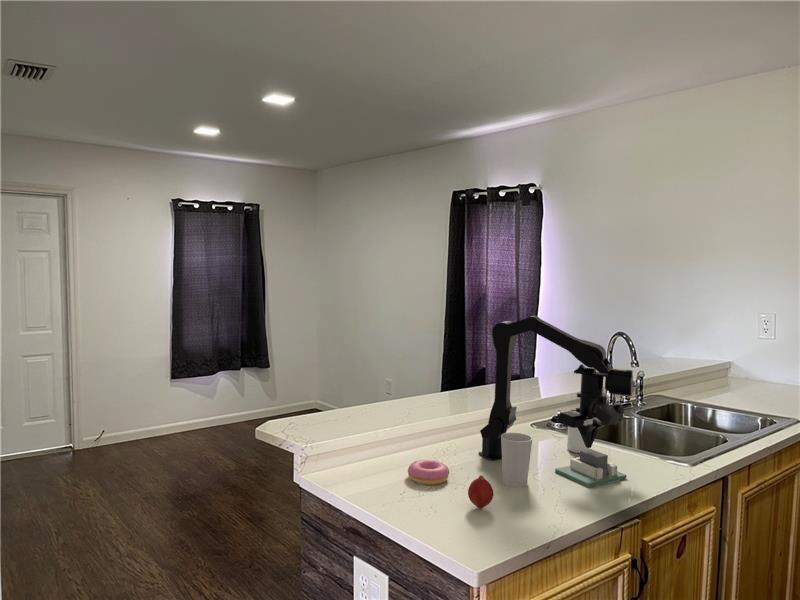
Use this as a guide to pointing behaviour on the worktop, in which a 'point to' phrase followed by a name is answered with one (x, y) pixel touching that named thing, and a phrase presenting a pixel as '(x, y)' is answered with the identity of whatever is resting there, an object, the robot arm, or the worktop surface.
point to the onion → (480, 492)
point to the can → (575, 439)
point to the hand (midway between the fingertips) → (588, 447)
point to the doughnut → (428, 472)
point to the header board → (590, 473)
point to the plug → (594, 459)
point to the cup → (515, 458)
